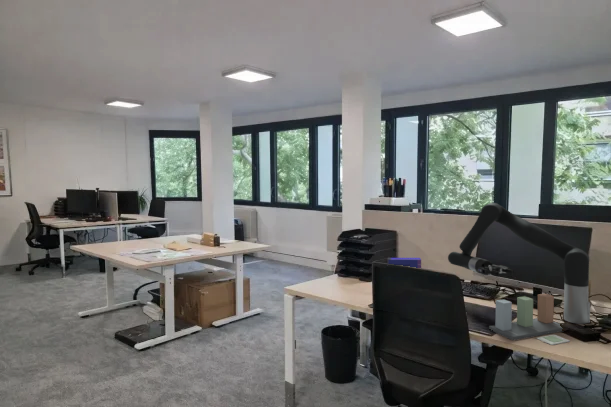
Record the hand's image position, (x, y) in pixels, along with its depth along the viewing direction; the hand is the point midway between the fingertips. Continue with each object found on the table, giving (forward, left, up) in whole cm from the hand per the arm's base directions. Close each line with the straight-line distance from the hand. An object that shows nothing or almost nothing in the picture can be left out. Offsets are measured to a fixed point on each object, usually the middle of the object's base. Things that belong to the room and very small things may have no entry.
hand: (505, 273), depth 186 cm
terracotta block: (-16, +5, -21) cm, 26 cm away
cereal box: (+43, -27, -23) cm, 56 cm away
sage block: (-5, +10, -21) cm, 23 cm away
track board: (-6, +11, -22) cm, 26 cm away
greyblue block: (+6, +15, -21) cm, 26 cm away
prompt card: (-11, +22, -22) cm, 33 cm away
